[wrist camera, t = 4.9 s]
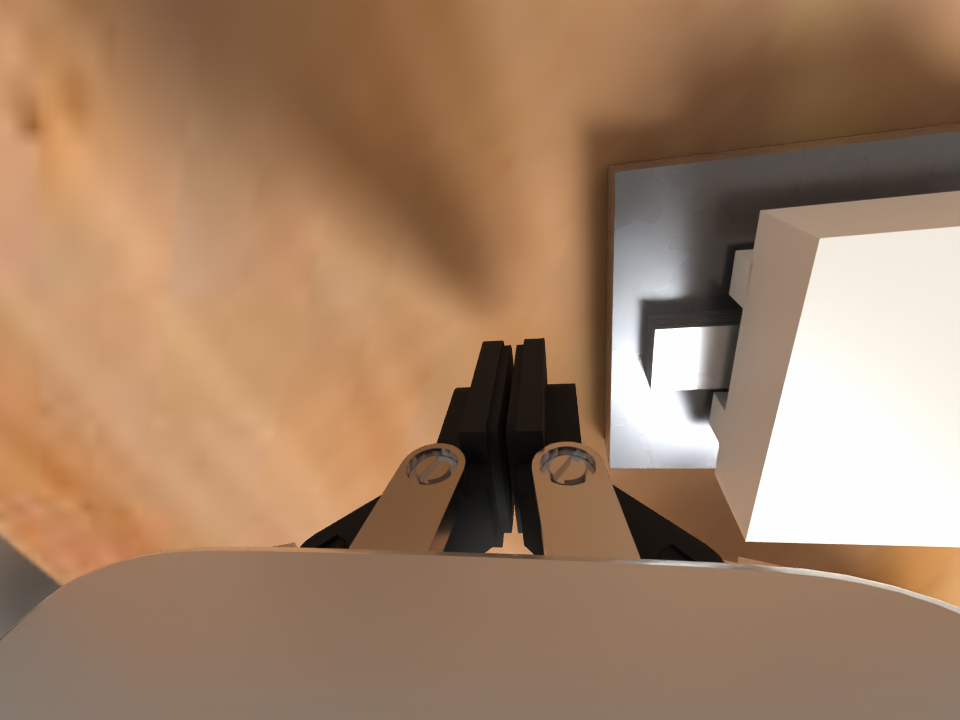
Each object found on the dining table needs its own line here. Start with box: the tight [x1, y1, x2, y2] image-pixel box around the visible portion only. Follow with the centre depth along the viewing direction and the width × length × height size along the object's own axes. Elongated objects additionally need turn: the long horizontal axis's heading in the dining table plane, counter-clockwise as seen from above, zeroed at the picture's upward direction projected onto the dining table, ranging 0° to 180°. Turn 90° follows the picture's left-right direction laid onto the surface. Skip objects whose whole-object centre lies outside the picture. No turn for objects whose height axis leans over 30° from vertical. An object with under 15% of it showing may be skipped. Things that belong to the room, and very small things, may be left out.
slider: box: [709, 191, 960, 547], centre depth 11 cm, size 6×8×4 cm
